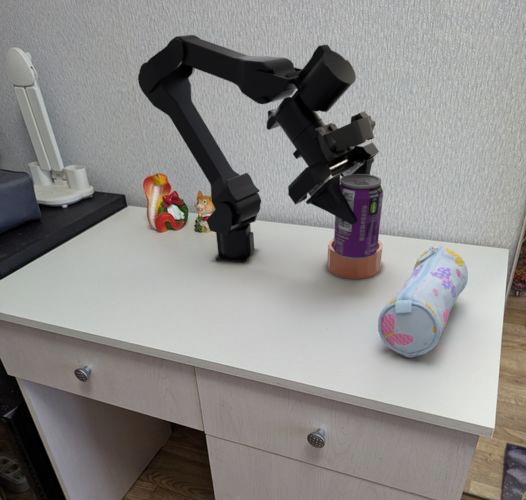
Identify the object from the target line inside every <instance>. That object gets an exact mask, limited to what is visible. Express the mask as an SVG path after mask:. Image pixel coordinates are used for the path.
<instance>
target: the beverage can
mask: <svg viewBox="0 0 526 500" xmlns="http://www.w3.org/2000/svg"><path fill="white" fill-rule="evenodd" d="M340 190H341V192H342V193H343V195H344V197H345V198H346V200H347V202H348V204H349V206H350V208H351V210H352V211H353V213H354V215H355V216H356V218H357V222H356V223H354V224H353V225H351V224H349V223H347V222H346V221H344V220H342V219H340V218H338V217H337V216H335V215H334V217H335V218H334V231H333V232H334V235H333V236H334V237H333V239H334V251H335V252H336V253H337V254H339V255H342V256H343V257H345V258H349V259H363V258H366V257H369V256H371V255H373V254H375V253H376V252H377V247H378V240H379V236H380V227H381V226H380V225H381V217H382V208H383V200H384V199H383V198H384V189H383V187H382V179H381V177H379V176H377V175H373V174H370V175H368V174H352V175H347V176H344V177H342V176H341V177H340Z"/></svg>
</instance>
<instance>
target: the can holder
mask: <svg viewBox="0 0 526 500" xmlns="http://www.w3.org/2000/svg"><path fill="white" fill-rule="evenodd" d="M383 247H384V245H383V243H382V242H381V240H380V239H378V247H377V252H376V253H375V254H373V255H371V256H369V257H366V258H363V259H349V258H345V257H343V256H342V255H339V254H337V253H336V252H335V251H334V238H332V239H330V240H329V242H328V244H327V263H326V265H327V269H328V271H329V272H330V273H331V274H333V275H334V276H336V277H339V278H343V279H351V280H358V279H360V280H361V279H367V278H371V277H373V276H375V275H377V274H378V273H379V272H380V270H381V266H382V258H383V257H382V256H383Z"/></svg>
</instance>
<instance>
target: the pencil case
mask: <svg viewBox="0 0 526 500" xmlns="http://www.w3.org/2000/svg"><path fill="white" fill-rule="evenodd" d="M468 271H469V270H468V266H467V264H466V262H465V260H464V259H463V258H462V257H461V256H460V255H459V254H458V253H457V252H455V251H454V250H452V249H450V248H448V247H444V246H443V245H439V247H437V248H436V247H434V246H430V247H429V248H428V249H426V250H425V251H424V252H423V253H422V254H421V255H420V256H419V258H417V259H416V262H415V264H414V267H413V270H412V272H411V274H409V276H408V277H407V278H406V280H405V282H404V283H403V285H402V287H401V288H400V289H399V290H398V291H397V292H396V293H395V294H394V296H393V297H392V298H391V300H389V301H388V302H387V303H386V304H385V305H384V306H383V308H382V310H381V311H380V313H379V315H378V319H377V329H378V330H377V331H378V333H379V336H380V339H381V340H382V342H383V343H384V344H385V345H386V346H387V347H388V348H390V349H391V350H392V351H394V352H395V353H396V354H399V355H401V356H403V357H405V358H416V357H419V356H421V355H425V354H427V353H428V352H430V351H432V350H433V349H435V347H436V346H437V345H438V344H439V342H440V340H441V336H442V334H443V331H444V329H445V328H446V326H447V323H448V319H449V316H450V313H451V311H452V309H453V308H454V306H455V305H456V302H457V300H458V299H459V296H460V294H461V293H462V292H463V291H464V290H465V289H466V286H467V284H468V281H469V272H468Z"/></svg>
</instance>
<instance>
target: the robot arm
mask: <svg viewBox="0 0 526 500" xmlns="http://www.w3.org/2000/svg"><path fill="white" fill-rule="evenodd" d="M196 70H198V71H200V72H204V73H205V74H208V75H211V76H213V77H215V78H216V77H217V78H219V79H221V80H224V81H227V82H229V83H232V84H234V85H235V86H236V87H238V89H239V90H240V92H241V93H242V94H243V95H244V96H245V97H247V98H249V99H250V100H252V102H254V103H256V104H259V105H267V104H270V103H274V102H278V101H281V102H280V104H279V105H278V106H277V107H276V108H274V109H273V108H272V109H269V110H267V120H266V129H267V131H270V130H272V129H276V128H279V127H280V128H281V129H282V131H283V132H284V134H285V136H286V137H287V138H288V139H289V141H290V142H291V144H292V145H293V147H294V148H295V150H294V151H293V152H292V155H293V157H294V158H295V160H298V159H300V158H302V160H303V161H304V162H305V164H306V166H307V167H305V168H304V169H303V170H302V171H301V172H300V174H298V175H297V176H296V178H294V180H292V181H291V182H290V184H288V185H287V187H288V189H287V190H288V191H287V194H288V197H289V198H290V199H291V201H292V203H293V204H294V205H298V204H300V203H301V202H303V201H305V200H306V201H305V203H306V204H307V205H312V206H315V207H317V208H319V209H321V210H323V211H326V212H327V213H329V214H331V215H333V216H334V217H335V216H337V217H338V218H340V219H342V220H344V221H346V222H347V223H349V224H351V225H353V224H354V223H356V222H357V218H356V216H355V215H354V213H353V211H352V210H351V208H350V206H349V204H348V202H347V200H346V198H345V197H344V195H343V193H342V192H341V190H340V184H341V183H340V179H341V178H342V177H344V176H347V175H352V174H368V175H371V171H372V165H373V163H374V161H375V157H376V156H377V155H378V154H379V153H380V151H379V150H378V148H377V146H376V145H375V144H374V142H373V141H371V140H374V139H375V134H374V129H375V127H376V124H377V123H376V121H375V120H373V119H372V116H371V115H369V114H368V113H367V112H366V111H365V110H363V111H361V112H358V113H357V114H354V115H352V116H351V117H350V123H348V124H345V125H343V126H341V127H339V128H338V127H337V125H336V124H335V123H332V122H330V123H326V122H325V121H324V118H323V117H322V116H321V115H320V114H319V112H323V113H328V112H329V111H330V110H332V108H333V107H334V105H336V103H337V102H338V101H339V100H340V99H341V98H342V97H343V96H344V94H346V92H347V91H349V89H350V88H351V86H353V84H355V82H356V79H357V78H356V77H357V75H356V71H355V68H354V67H353V65H352V64H351V62H350V61H349V60H348V59H345V57H343V56H342V54H340V53H339V52H336V51H334V50H332V49H331V48H330V46H329V44H321V45H318V46H317V47H316V49H315V50H314V51H313V53H312V55H311V57H310V59H309V60H308V62H307V63H306V64H305V65H304V67H303V68H301V67H297V66H295V65H294V62H292V60H290V59H289V58H288V57H281V56H270V55H269V56H268V55H263V56H262V55H248V54H244V53H242V52H240V51H236V50H234V49H230V48H228V47H225V46H223V45H219V44H217V43H213V42H211V41H208V40H205V39H201V38H200V37H199V36H197V35H195V34H185V35H178V36H174V37H173V38H172V39H170V41H169V42H168V43H167V44H166V46H165V47H163V48H162V49H161V50H160V51H158V52H156V54H154V55H153V56H152V57H150V58H149V59H148V60H147V61H146V62H143V63H142V64H141V66H140V67H139V71H138V72H139V73H138V75H137V82H138V85H139V88H140V91H141V92H142V93H143V94H144V96H145V98H146V99H147V100H148V101H149V102H150V104H151V105H152V106H153V107H155V108H156V109H157V110H159V111H160V112H162V113H164V114H165V115H167V116H168V117H169V118H170V120H171V121H172V124H173V125H174V127H175V128H176V130H177V132H178V133H179V135H180V136H181V138H182V139H183V141H184V143H185V145H186V146H187V148H188V150H189V151H190V153H191V155H192V157H193V158H194V160H195V161H196V163H197V164H198V166H199V168H200V169H201V171H202V173H203V174H204V176H205V178H206V180H207V181H208V183H209V185H210V197H211V198H210V200H211V203H212V206H213V208H214V210H213V211H212V212H211V214H210V215H209V216H208V217H207V219H206V223H207V226H208V229H209V231H211V232H214V233H215V237H216V248H217V255H216V256H215V261H220V262H231V263H233V262H234V263H247V262H248V261H249V259H250V258H251V256H252V255H253V253H254V252H255V250H256V249H255V236H254V235H255V234H254V232H253V231H252V228H251V224H252V223H255V222H256V221H257V216H258V214H259V213H260V211H261V204H262V199H261V196H260V194H259V193H260V189H259V188H258V187H257V186H256V185H255V184H254V181H253V179H252V177H251V175H250V174H249V173H248V172H245V173H242V174H239V173H238V172H237V171H235V170H234V169H233V167H232V166H231V165H230V163H229V161H228V159H227V157H226V156H225V154H224V153H223V151H222V149H221V147H220V146H219V144H218V143H217V141H216V139H215V138H214V136H213V134H212V132H211V131H210V129H209V128H208V126H207V124H206V123H205V120H204V119H203V117H202V116H201V114H200V113H199V111H198V109H197V107H196V105H195V104H194V102H193V99H192V98H193V96H192V95H193V94H192V84H191V81H190V78H191V77H192V76H193V75H194V73H195V71H196ZM308 195H309V196H310V197H308Z"/></svg>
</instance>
